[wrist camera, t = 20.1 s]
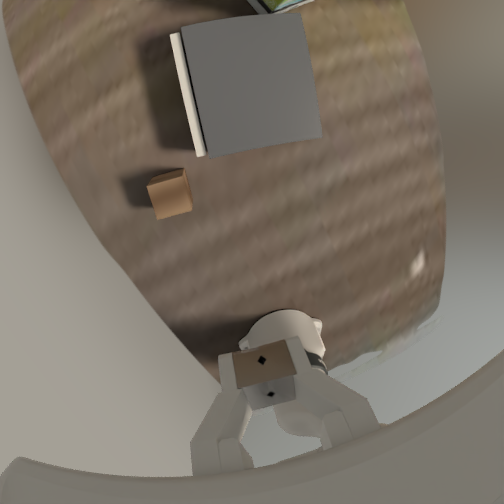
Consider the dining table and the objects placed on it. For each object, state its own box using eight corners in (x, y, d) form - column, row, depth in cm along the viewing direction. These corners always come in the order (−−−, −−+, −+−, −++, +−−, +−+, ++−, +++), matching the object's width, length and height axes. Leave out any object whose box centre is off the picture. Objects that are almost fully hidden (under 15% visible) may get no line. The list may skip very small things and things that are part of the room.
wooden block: (192, 198, 41) (191, 210, 37) (162, 207, 41) (157, 219, 37) (184, 168, 38) (182, 176, 34) (152, 177, 38) (146, 186, 34)
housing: (306, 132, 39) (322, 137, 34) (208, 151, 38) (209, 158, 33) (286, 24, 29) (300, 13, 24) (183, 38, 29) (180, 27, 23)
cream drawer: (298, 131, 38) (310, 134, 34) (197, 151, 37) (197, 157, 33) (278, 26, 29) (288, 17, 25) (173, 43, 28) (169, 34, 24)
